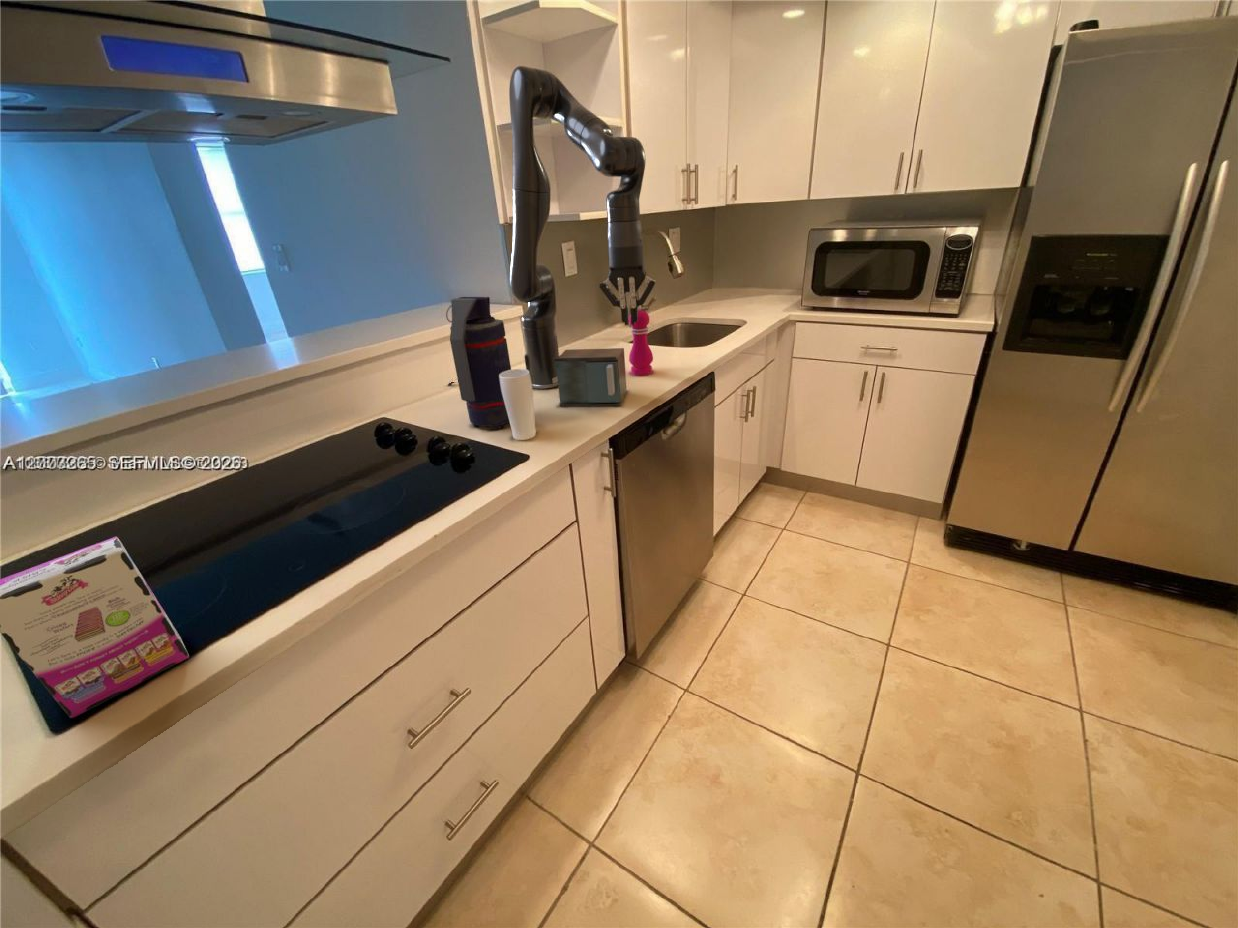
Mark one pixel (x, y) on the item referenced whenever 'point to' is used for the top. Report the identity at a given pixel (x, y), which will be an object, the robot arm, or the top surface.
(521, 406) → the drinking glass
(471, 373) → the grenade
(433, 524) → the top surface
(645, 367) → the pepper mill
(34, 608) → the candy bar box
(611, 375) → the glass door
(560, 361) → the cabinet
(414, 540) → the top surface
